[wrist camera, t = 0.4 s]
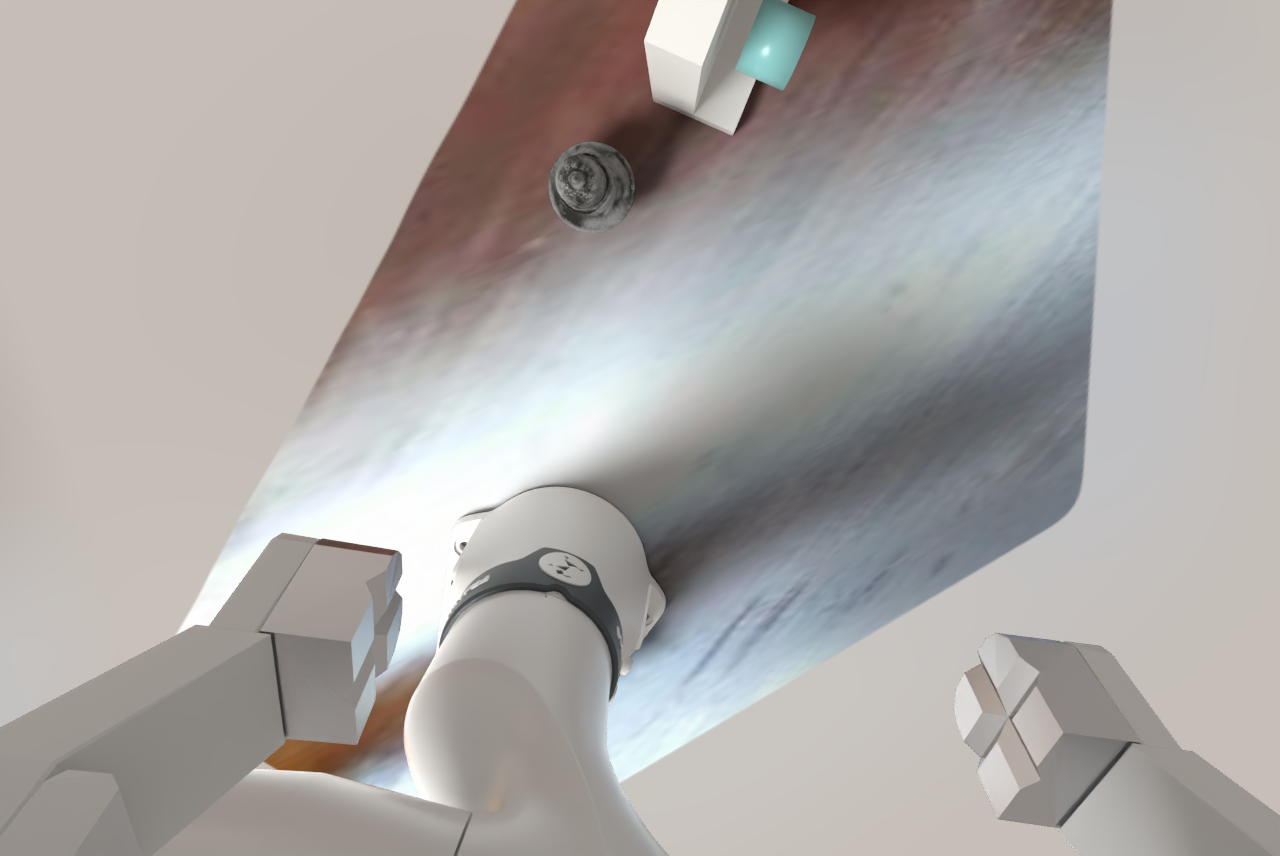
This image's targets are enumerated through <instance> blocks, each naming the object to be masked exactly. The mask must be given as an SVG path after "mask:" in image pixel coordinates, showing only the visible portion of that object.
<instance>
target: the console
mask: <svg viewBox="0 0 1280 856" xmlns="http://www.w3.org/2000/svg"><path fill="white" fill-rule="evenodd" d="M762 1H763V0H659V1H658V4H657V7H656V9H655V12H654V15H653V18H652V20H651V23H650V26H649V29H648V31H647V34H646V37H645V40H644V44H645V50H646V57H647V63H648V70H649V76H650V83H651V89H652V96H653V101H654V102H656V103H659V104H661V105H663V106H665V107H668V108H670V109H672V110H675V111H677V112H679V113H682V114H684V115H686V116H688V117H691V118H693V119H695V120H698V121H700V122H702V123H704V124H707V125H709V126H711V127H714V128H716V129H718V130H720V131H723V132H725V133H727V134H730V135H733V133H734V131H735V129H736V127H737V124H738V122H739V119H740V117H741V114H742V112H743V110H744V107H745V105H746V102H747V100H748V97H749V95H750V93H751V90H752V88H753V85H754V83H755V81H756V79H755V78H752V77H750V76H748V75H745V74H743V73H741V72H739V71H736V70H735V69H736V66H737V63H738V61H739V58H740V56H741V53H742V51H743V48H744V46H745V43H746V41H747V38H748V36H749V33H750V31H751V28H752V26H753V23H754V21H755V19H756V16H757V14H758V11H759V9H760V6H761V4H762ZM781 1H784V2H786V3H788V1H789V0H781Z"/></svg>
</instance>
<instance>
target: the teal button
mask: <svg viewBox="0 0 1280 856" xmlns="http://www.w3.org/2000/svg"><path fill="white" fill-rule="evenodd" d="M815 18H816V16H815V15H812V14H810V13H808V12H806V11H804V10H801V9H799V8H797V7H795V6H793V5H790V4H788V3H786V2H784V1H781V0H763V1H762V4H761V6H760V9H759V11H758V14H757V16H756V19H755V21H754V23H753V26H752V28H751V31H750V33H749V36H748V38H747V41H746V43H745V46H744V48H743V51H742V53H741V56H740V58H739V61H738V63H737V66H736V69H735V70H736V71H739V72H741V73H743V74H745V75H748V76H750V77H752V78H755V79H757V80H759V81H761V82H764V83H766V84H768V85H770V86H773V87H775V88H777V89H779V90H782V91H783V90H784V89H785V87H786V85H787V83H788V81H789V79H790V77H791V75H792V73H793V71H794V69H795V67H796V65H797V62H798V60H799V58H800V56H801V53H802V51H803V49H804V47H805V44H806V42H807V39H808V37H809V34H810V32H811V29H812V27H813V24H814V21H815Z"/></svg>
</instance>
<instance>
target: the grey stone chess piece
mask: <svg viewBox="0 0 1280 856" xmlns="http://www.w3.org/2000/svg"><path fill="white" fill-rule="evenodd" d="M634 195H635V180H634V176H633V172H632V169H631V167H630V166H629V164H628V162H627V160H626V159H625V158H624V157H623V156H622V154H621V153H620V152H619V151H618V150H616V149H614V148H613V147H611V146H609V145H608V144H604V143H601V142H597V141H586V142H581V143H578V144H575V145H573V146H571V147H570V148H568V149H567V150H565V151H564V152H563V153H562V154H561V155H560V156H559V157H558V159H557V160H556V161H555V164H554V166H553V168H552V170H551V173H550V178H549V196H550V199H551V202H552V206H553V208H554V209H555V211H556V213H557V214H558V216H559V217H560V218H561V219H562V220H563V221H564V222H565V223H566V224H567V225H569V226H571V227H573V228H574V229H576V230H579V231H583V232H587V233H599V232H602V231H606V230H609V229H611V228H613V227H614V226H616V225H617V224H619V223H620V222H621V221H622V220H623V219H624V218H625V216H626V215H627V214H628V212H629V210H630V208H631V206H632V204H633V199H634Z"/></svg>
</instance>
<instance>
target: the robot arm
mask: <svg viewBox="0 0 1280 856" xmlns="http://www.w3.org/2000/svg"><path fill="white" fill-rule="evenodd" d="M462 542H467V544H466V546H465V547H464V546H463V545H462ZM401 575H402V554H401V553H400V552H399V551H396V550H390V549H384V548H378V547H372V546H365V545H359V544H353V543H347V542H341V541H334V540H328V539H316V538H310V537H304V536H298V535H292V534H286V533H281V534H280V535H278V536H276V537H275V538H273V539H272V540H271V541H270V542H269V544H268V545H267V547H266V548H265V549H264V551H263V552H262V553H261V555H260V556H259V558H258V559H257V560H256V562H255V563H254V565H253V566H252V567H251V569H250V570H249V571H248V573H247V574H246V576H245V577H244V578H243V580H242V581H241V582H240V584H239V585H238V587H237V588H236V589H235V591H234V592H233V593H232V595H231V596H230V598H229V599H228V600H227V602H226V603H225V605H224V606H223V607H222V609H221V610H220V611H219V613H218V614H217V616H216V617H215V618H214V620H213V621H212V622H211V624H210V625H209V626H202V625H195V626H193V627H191V628H189V629H187V630H185V631H183V632H181V633H179V634H177V635H176V636H174V637H172V638H170V639H168V640H166V641H164V642H162V643H160V644H159V645H157V646H155V647H153V648H151V649H149V650H147V651H145V652H143V653H141V654H139V655H138V656H136V657H134V658H132V659H130V660H128V661H126V662H124V663H122V664H120V665H118V666H117V667H115V668H113V669H111V670H109V671H107V672H105V673H103V674H101V675H99V676H97V677H96V678H94V679H92V680H90V681H88V682H86V683H84V684H82V685H80V686H78V687H77V688H75V689H73V690H71V691H69V692H67V693H65V694H63V695H61V696H59V697H58V698H56V699H54V700H52V701H50V702H48V703H46V704H44V705H42V706H40V707H39V708H37V709H35V710H33V711H31V712H29V713H27V714H25V715H23V716H21V717H20V718H17V719H16V720H14V721H12V722H10V723H8V724H6V725H4V726H2V727H0V856H669V855H668V854H667V853H666V851H665V850H664V849H663V848H662V847H661V845H660V844H658V842H657V841H656V840H655V838H654V837H653V836H652V835H651V833H650V832H649V831H648V829H647V828H646V826H645V825H644V824H643V822H642V821H641V819H640V818H639V816H638V815H637V813H636V812H635V810H634V809H633V807H632V805H631V804H630V802H629V800H628V798H627V797H626V795H625V793H624V791H623V789H622V787H621V786H620V783H619V781H618V779H617V777H616V775H615V773H614V770H613V767H612V765H611V762H610V759H609V755H608V750H607V715H608V707H609V705H610V704H611V702H612V700H613V698H614V696H615V693H616V690H617V682H618V677H619V676H620V674H622V675H624V676H625V675H626V674H627V673H628V672H629V670H630V668H631V666H632V663H633V660H632V659H631V658H630V656H631V655H632V654H633V652H634V651H635V650H638V649H639V648H640V646H641V644H642V641H643V639H644V638H645V636H646V635H647V634H648V633H649V631H650V630H651V629H652V627H653V626H654V625H655V623H656V622H657V621H658V619H659V618H660V617H661V616H662V614H663V612H664V610H665V606H666V598H665V595H664V593H663V591H662V590H661V588H660V587H659V585H658V584H657V582H656V581H655V580H654V579H653V577H652V576H651V575H650V572H649V569H648V566H647V561H646V557H645V552H644V549H643V545H642V543H641V540H640V538H639V536H638V534H637V532H636V530H635V529H634V527H633V526H632V524H631V523H630V522H629V521H628V519H627V518H626V517H625V516H624V515H623V514H622V513H621V512H620V511H619V510H618V509H617V508H615V507H614V506H613V505H611V504H610V503H609V502H607V501H605V500H604V499H602V498H600V497H598V496H596V495H594V494H591V493H589V492H586V491H582V490H579V489H574V488H568V487H544V488H538V489H533V490H530V491H527V492H524V493H521V494H519V495H517V496H515V497H513V498H511V499H510V500H508V501H507V502H505V503H504V504H502V505H501V506H499V507H497V508H496V509H494V510H491V511H489V512H482V513H476V514H471V515H467V516H464V517H462V518H460V519H459V520H458V521H457V522H456V523H455V526H454V528H453V530H452V535H451V543H450V551H449V558H448V566H447V574H446V581H445V589H444V597H443V604H442V612H441V620H440V628H439V635H438V643H437V651H436V655H435V657H434V659H433V660H432V662H431V664H430V666H429V667H428V669H427V671H426V673H425V675H424V676H423V678H422V680H421V682H420V684H419V685H418V687H417V689H416V691H415V692H414V694H413V696H412V698H411V701H410V703H409V706H408V710H407V713H406V718H405V724H404V746H405V753H406V757H407V761H408V765H409V769H410V772H411V775H412V778H413V781H414V784H415V786H416V788H417V791H418V793H419V795H420V797H421V798H422V799H421V798H417V797H413V796H409V795H405V794H402V793H398V792H394V791H390V790H387V789H383V788H379V787H375V786H372V785H368V784H364V783H360V782H357V781H353V780H349V779H345V778H341V777H338V776H334V775H330V774H326V773H320V772H302V771H285V770H266V769H255V768H256V767H257V766H258V765H259V764H261V763H262V762H263V761H264V760H265V759H267V758H268V757H269V756H270V755H271V754H273V753H274V752H275V751H276V750H277V749H278V748H280V747H281V746H282V745H283V744H284V743H285V738H286V739H297V740H308V741H320V742H331V743H343V744H354V745H357V743H358V741H359V738H360V736H361V733H362V731H363V728H364V726H365V723H366V721H367V719H368V716H369V714H370V711H371V709H372V706H373V704H374V701H375V699H376V691H375V678H376V677H377V676H379V675H380V674H382V673H383V672H384V671H386V670H387V669H388V666H389V664H390V661H391V658H392V656H393V653H394V650H395V646H396V643H397V639H398V635H399V631H400V625H401V617H402V597H401V596H400V595H399V594H398V593H397V592H396V590H395V589H396V587H397V585H398V582H399V580H400V578H401ZM647 613H648V615H647ZM978 654H979V657H980V661H981V664H980V665H978V666H976V667H974V668H972V669H971V670H969V671H968V672H965V673H964V675H963V677H962V679H961V680H960V682H959V684H958V686H957V688H956V691H955V702H954V712H955V718H956V723H957V726H958V729H959V731H960V734H961V736H962V739H963V741H964V742H965V743H966V744H967V745H968V746H969V747H970V748H971V749H972V750H973V751H974V752H975V753H976V754H977V755H979V756H980V757H981V759H980V762H979V766H978V769H977V773H978V776H979V778H980V780H981V782H982V785H983V787H984V789H985V792H986V794H987V796H988V798H989V801H990V803H991V805H992V807H993V810H994V812H995V814H996V816H997V819H1000V820H1007V821H1014V822H1021V823H1027V824H1034V825H1041V826H1048V827H1055V828H1060V830H1059V831H1058V832H1059V833H1060V834H1061V835H1062V836H1063V837H1064V838H1065V839H1066V841H1068V843H1069V844H1070V845H1071V846H1072V847H1073V848H1074V849H1075V850H1076V852H1077V853H1078V854H1079V855H1080V856H1280V815H1278V814H1277V813H1276V812H1274V811H1273V810H1272V809H1270V808H1269V807H1268V806H1266V805H1265V804H1263V803H1262V802H1261V801H1259V800H1258V799H1257V798H1255V797H1254V796H1253V795H1251V794H1250V793H1248V792H1247V791H1246V790H1245V789H1243V788H1242V787H1240V786H1239V785H1238V784H1236V783H1235V782H1234V781H1232V780H1231V779H1229V778H1228V777H1227V776H1226V775H1224V774H1223V773H1222V772H1220V771H1219V770H1217V769H1216V768H1215V767H1213V766H1212V765H1211V764H1209V763H1208V762H1207V761H1205V760H1204V759H1203V758H1201V757H1200V756H1199V755H1197V754H1196V753H1194V752H1192V751H1186V750H1182V749H1181V748H1180V746H1179V745H1178V744H1177V742H1176V741H1175V740H1174V738H1173V737H1172V736H1171V734H1170V733H1169V731H1168V730H1167V729H1166V727H1165V726H1164V725H1163V723H1162V722H1161V720H1160V719H1159V718H1158V716H1157V715H1156V714H1155V712H1154V711H1153V709H1152V708H1151V707H1150V706H1149V704H1148V703H1147V701H1146V700H1145V699H1144V697H1143V696H1142V694H1141V693H1140V692H1139V691H1138V689H1137V688H1136V686H1135V685H1134V684H1133V682H1132V681H1131V679H1130V678H1129V677H1128V675H1127V674H1126V673H1125V671H1124V670H1123V668H1122V667H1121V666H1120V664H1119V663H1118V662H1117V660H1116V659H1115V657H1114V656H1113V655H1112V654H1111V653H1110V652H1108V651H1107V650H1106V649H1104V648H1103V647H1101V646H1097V645H1089V644H1081V643H1073V642H1060V641H1054V640H1047V639H1039V638H1031V637H1023V636H1016V635H1007V634H1000V633H995V634H993V635H991V636H989V637H988V638H987V639H985V641H984V642H983V644H982V645H981V647H980V649H979V650H978Z"/></svg>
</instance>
